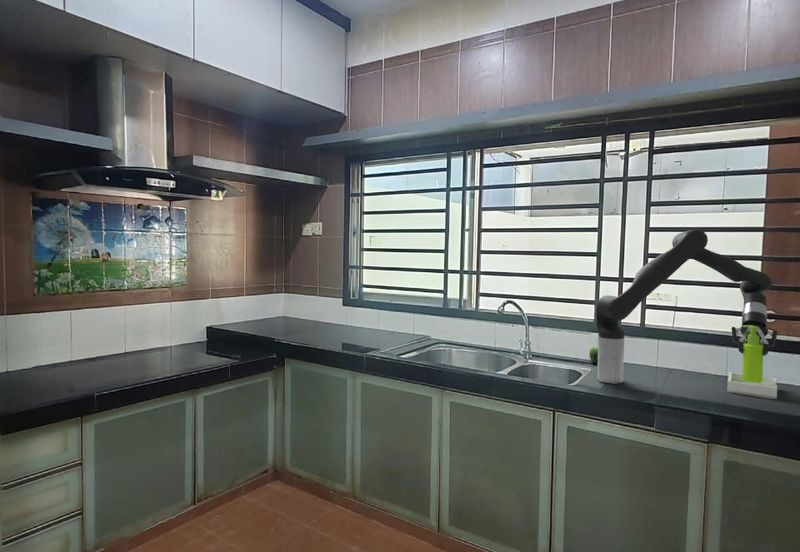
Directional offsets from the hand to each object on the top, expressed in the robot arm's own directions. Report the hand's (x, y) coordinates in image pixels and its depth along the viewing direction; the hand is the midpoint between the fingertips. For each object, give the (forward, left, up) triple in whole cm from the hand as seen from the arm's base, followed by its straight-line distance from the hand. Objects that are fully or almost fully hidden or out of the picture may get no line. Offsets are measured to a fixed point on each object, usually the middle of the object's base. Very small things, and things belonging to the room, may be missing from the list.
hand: (753, 353), depth 171 cm
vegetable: (+16, +57, -14) cm, 61 cm away
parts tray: (+2, 0, -14) cm, 14 cm away
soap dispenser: (+2, 0, -10) cm, 11 cm away
